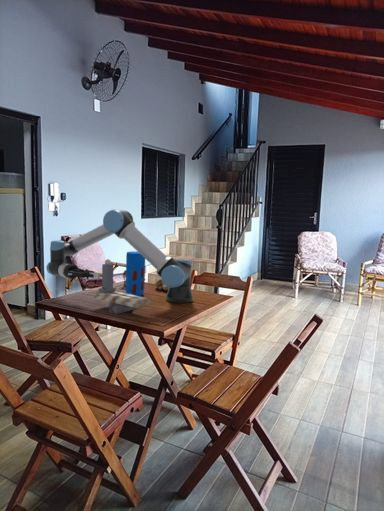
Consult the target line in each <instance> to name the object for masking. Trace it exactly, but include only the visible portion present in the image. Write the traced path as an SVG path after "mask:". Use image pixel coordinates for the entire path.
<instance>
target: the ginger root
mask: <svg viewBox="0 0 384 511" xmlns="http://www.w3.org/2000/svg"><path fill="white" fill-rule="evenodd" d="M154 286H155V287H157V289H158V290H159V291H161V290H164V291H168V290H169V287H168V286H166V285H165V284H164V283H163V282H162V279H161V278H160V279H158V280H155V285H154Z"/></svg>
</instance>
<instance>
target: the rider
mask: <svg viewBox="0 0 384 511" xmlns="http://www.w3.org/2000/svg"><path fill="white" fill-rule="evenodd" d="M101 266H102V267H101V273H102V275H101V288H98V291H99V292H102V293H107V292H108V293H111V292H112V291H116V292H117V287H115V286H114V264H112V262H111V259H109V258H107V259H105V260H104V263H103V264H102V265H101Z"/></svg>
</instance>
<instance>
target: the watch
mask: <svg viewBox="0 0 384 511" xmlns="http://www.w3.org/2000/svg"><path fill="white" fill-rule="evenodd" d="M122 278H123V286H124V287H126V269H125V270H124V271H123V272H122Z"/></svg>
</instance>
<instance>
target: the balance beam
mask: <svg viewBox="0 0 384 511" xmlns="http://www.w3.org/2000/svg"><path fill="white" fill-rule="evenodd" d="M93 299H97V300H100V301H105V302H108V313H110V314H114V315H119V314H122V313H125V312H129V311H132V310H135V308H136V309H137V308H141V307H144V306H148V305H151V300H150V299H149V298H148V297H143V296H135V295H131V294H126V292H120V291H117V290H116V291H112V292H111V293H108V292H107V293H102V292H99V290H98V291H96V294H94V296H93Z"/></svg>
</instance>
